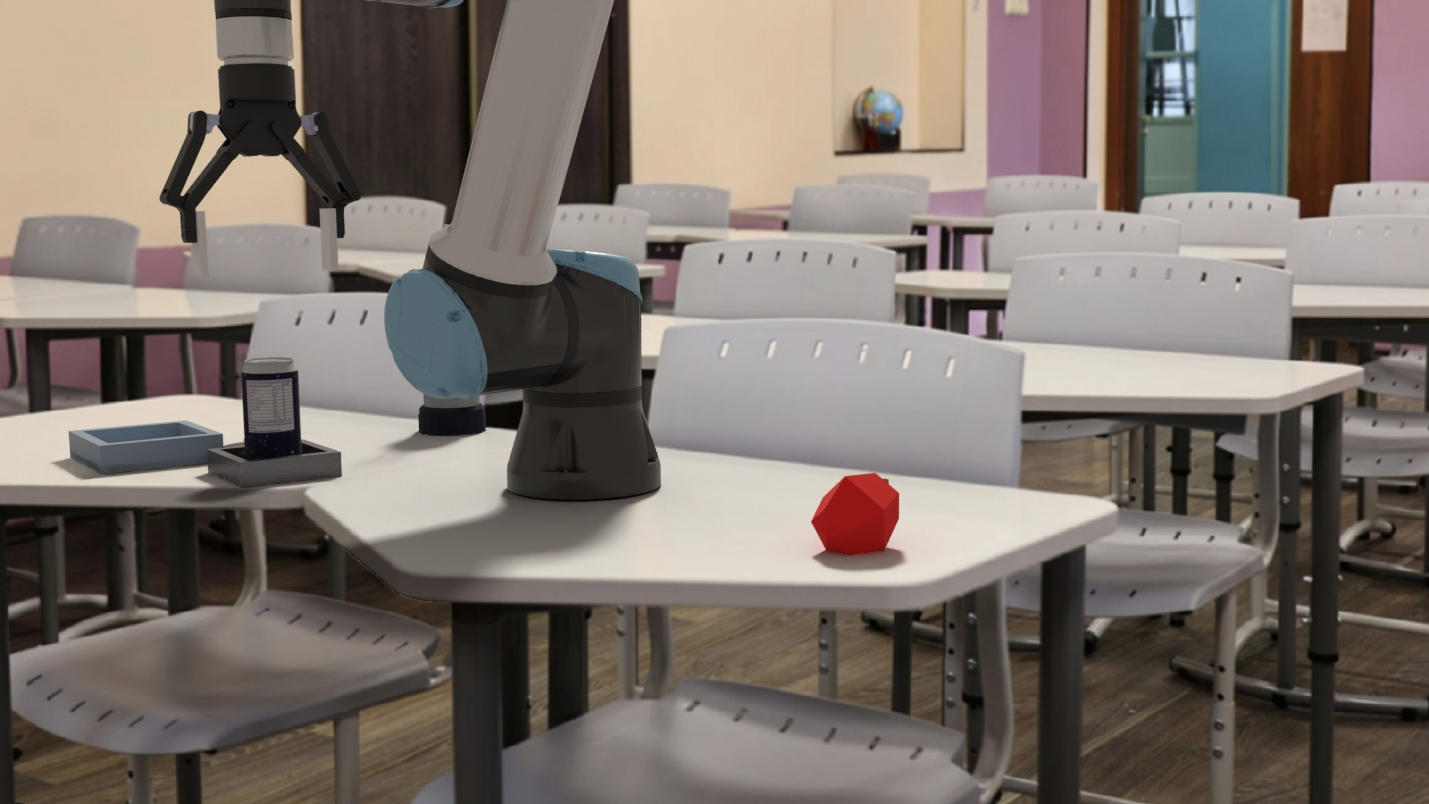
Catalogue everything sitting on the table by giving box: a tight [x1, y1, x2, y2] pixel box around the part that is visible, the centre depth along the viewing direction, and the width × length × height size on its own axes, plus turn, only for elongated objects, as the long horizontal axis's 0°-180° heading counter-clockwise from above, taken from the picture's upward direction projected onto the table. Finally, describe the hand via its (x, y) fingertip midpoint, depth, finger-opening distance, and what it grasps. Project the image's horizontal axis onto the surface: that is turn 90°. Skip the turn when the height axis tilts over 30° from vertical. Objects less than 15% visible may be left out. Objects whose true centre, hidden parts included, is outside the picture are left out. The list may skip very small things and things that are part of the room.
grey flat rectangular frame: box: [207, 438, 343, 488], centre depth 171 cm, size 17×10×3 cm, turn 35°
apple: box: [810, 472, 900, 556], centre depth 131 cm, size 7×7×8 cm
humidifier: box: [417, 223, 487, 437], centre depth 196 cm, size 8×8×25 cm
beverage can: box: [240, 356, 302, 460], centre depth 168 cm, size 6×6×12 cm
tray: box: [68, 420, 224, 475], centre depth 178 cm, size 13×13×3 cm
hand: (267, 273), depth 167 cm, fingers open, 13 cm apart
